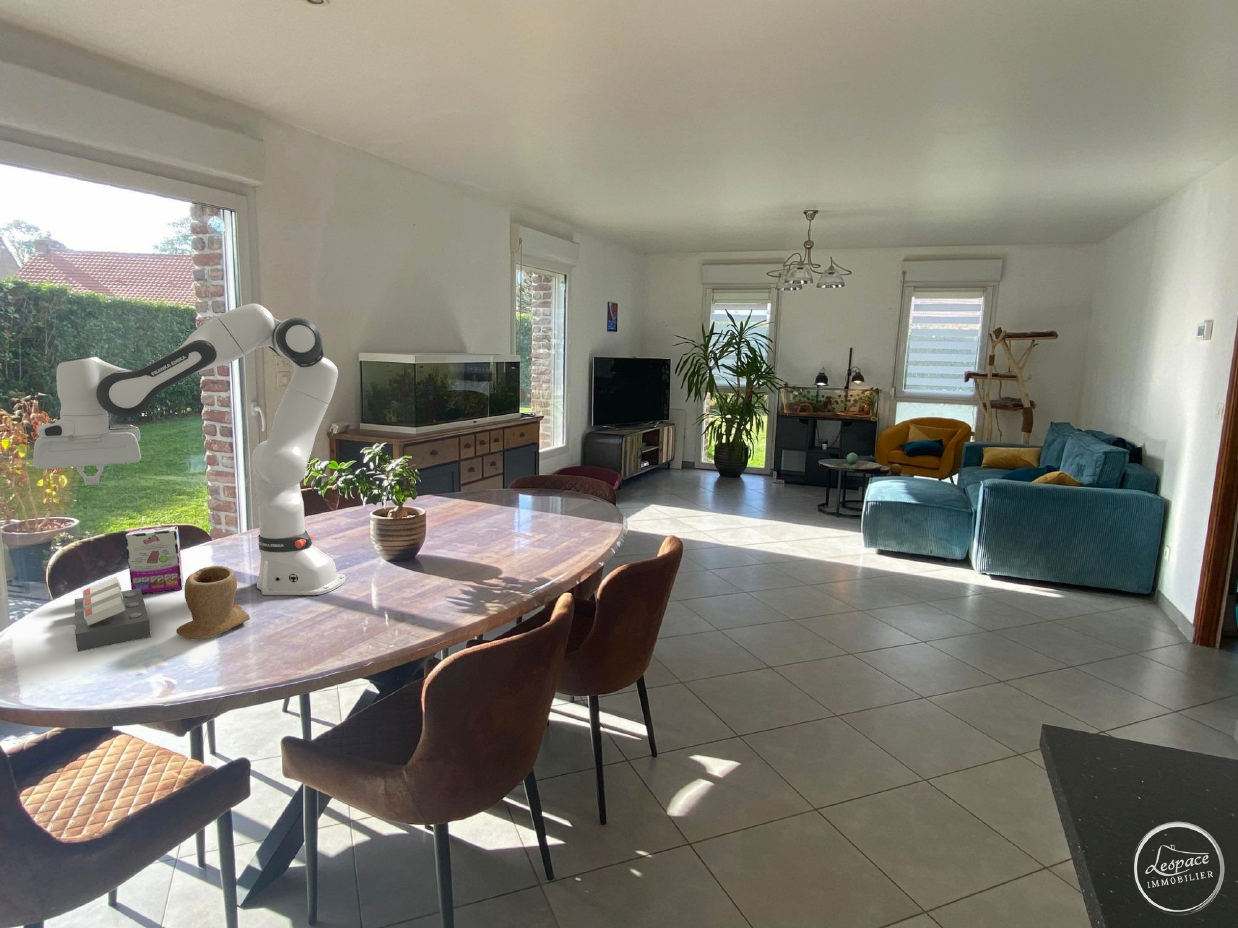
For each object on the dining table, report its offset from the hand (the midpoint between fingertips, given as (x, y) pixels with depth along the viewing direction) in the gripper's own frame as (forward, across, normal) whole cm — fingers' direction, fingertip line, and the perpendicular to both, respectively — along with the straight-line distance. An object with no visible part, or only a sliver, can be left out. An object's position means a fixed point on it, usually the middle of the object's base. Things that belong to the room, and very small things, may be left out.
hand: (92, 484), depth 165 cm
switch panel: (+31, -1, +13) cm, 34 cm away
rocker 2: (+25, 0, +13) cm, 28 cm away
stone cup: (+31, -20, +30) cm, 48 cm away
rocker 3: (+25, 0, +21) cm, 33 cm away
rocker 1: (+25, 0, +6) cm, 26 cm away
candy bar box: (+31, -11, -7) cm, 34 cm away
